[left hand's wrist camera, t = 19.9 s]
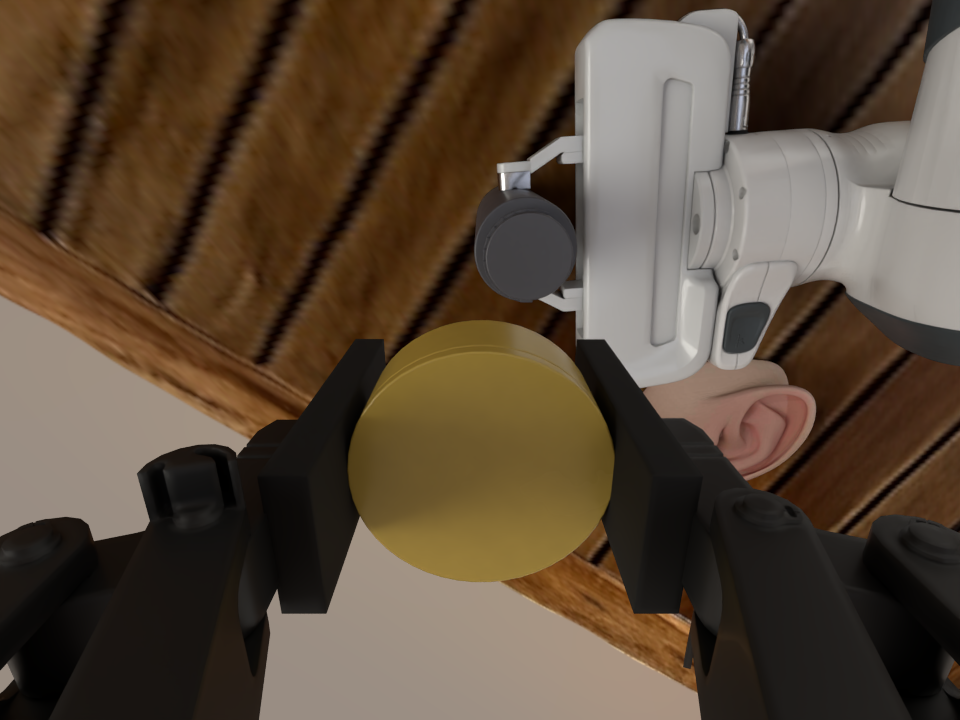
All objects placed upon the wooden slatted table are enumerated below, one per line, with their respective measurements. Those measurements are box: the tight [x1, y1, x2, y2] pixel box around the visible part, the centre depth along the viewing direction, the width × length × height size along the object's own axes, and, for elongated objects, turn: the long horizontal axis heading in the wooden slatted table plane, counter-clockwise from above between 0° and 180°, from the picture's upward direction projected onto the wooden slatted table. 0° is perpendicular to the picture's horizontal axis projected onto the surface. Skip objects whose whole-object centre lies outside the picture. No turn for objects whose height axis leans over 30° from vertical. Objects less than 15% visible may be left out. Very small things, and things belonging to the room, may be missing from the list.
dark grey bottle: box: [474, 187, 577, 302], centre depth 29 cm, size 5×5×16 cm
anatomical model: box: [643, 360, 816, 481], centre depth 40 cm, size 13×4×12 cm
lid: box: [347, 320, 615, 582], centre depth 11 cm, size 5×5×2 cm
